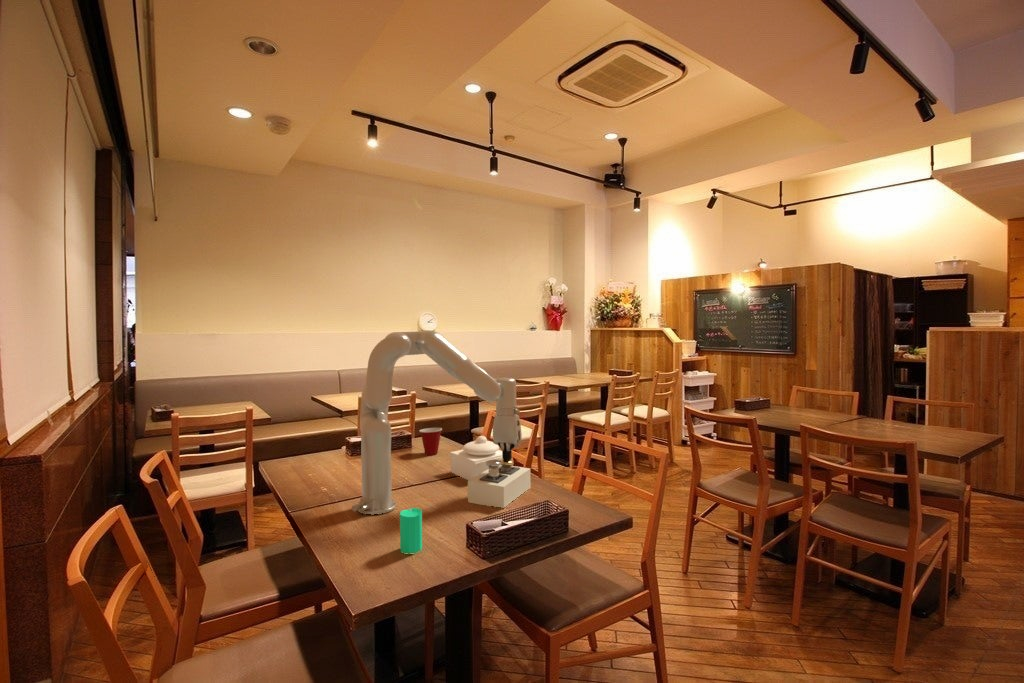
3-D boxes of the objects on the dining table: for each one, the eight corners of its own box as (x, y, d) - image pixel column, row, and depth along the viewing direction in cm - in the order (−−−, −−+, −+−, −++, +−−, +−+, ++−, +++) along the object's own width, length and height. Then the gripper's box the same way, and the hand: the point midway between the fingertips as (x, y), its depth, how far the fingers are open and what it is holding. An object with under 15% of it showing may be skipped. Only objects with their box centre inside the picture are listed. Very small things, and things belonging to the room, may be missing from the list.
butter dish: (475, 484, 185) (474, 443, 185) (450, 473, 199) (449, 435, 199) (510, 475, 197) (510, 436, 196) (484, 465, 210) (484, 429, 210)
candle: (423, 544, 135) (423, 502, 134) (420, 554, 129) (420, 510, 128) (402, 544, 135) (401, 502, 134) (398, 555, 129) (397, 511, 128)
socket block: (503, 508, 160) (503, 485, 160) (467, 502, 166) (467, 479, 166) (530, 488, 180) (530, 467, 180) (497, 483, 186) (497, 462, 186)
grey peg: (496, 487, 165) (496, 464, 165) (483, 485, 167) (483, 462, 167) (503, 483, 170) (503, 460, 169) (490, 480, 172) (490, 458, 172)
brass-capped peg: (509, 485, 174) (509, 463, 174) (497, 483, 176) (497, 462, 176) (516, 481, 179) (515, 460, 178) (503, 479, 181) (503, 458, 181)
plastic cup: (435, 449, 236) (434, 425, 235) (446, 454, 228) (446, 429, 227) (415, 453, 229) (414, 428, 228) (426, 458, 221) (426, 432, 220)
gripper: (529, 411, 177) (529, 460, 177) (493, 408, 183) (494, 456, 184) (520, 415, 170) (521, 466, 171) (483, 412, 176) (484, 461, 177)
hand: (507, 460), depth 177 cm, fingers closed
